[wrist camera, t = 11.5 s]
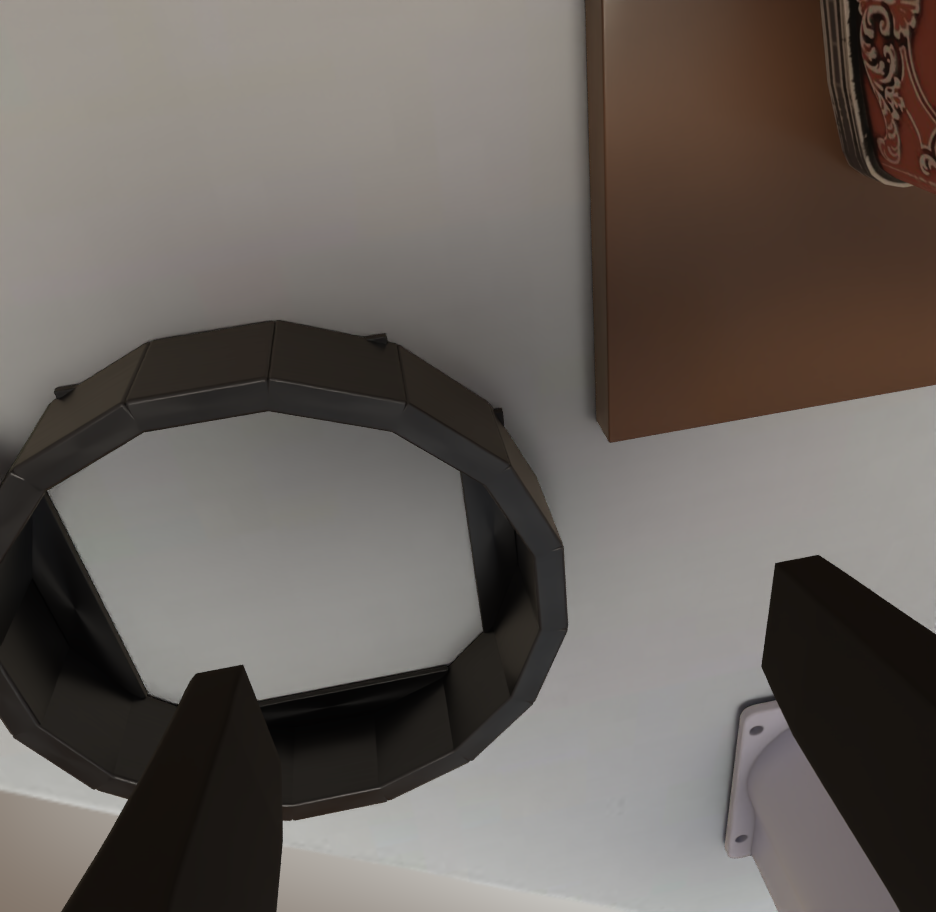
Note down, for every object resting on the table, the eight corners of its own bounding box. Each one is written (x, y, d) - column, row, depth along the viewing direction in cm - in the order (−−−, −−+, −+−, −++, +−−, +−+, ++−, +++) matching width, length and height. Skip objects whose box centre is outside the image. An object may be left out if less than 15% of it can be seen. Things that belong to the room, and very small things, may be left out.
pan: (553, 688, 27) (577, 764, 24) (-104, 817, 26) (-150, 912, 23) (506, 87, 17) (539, 114, 14) (-602, 252, 15) (-783, 312, 13)
